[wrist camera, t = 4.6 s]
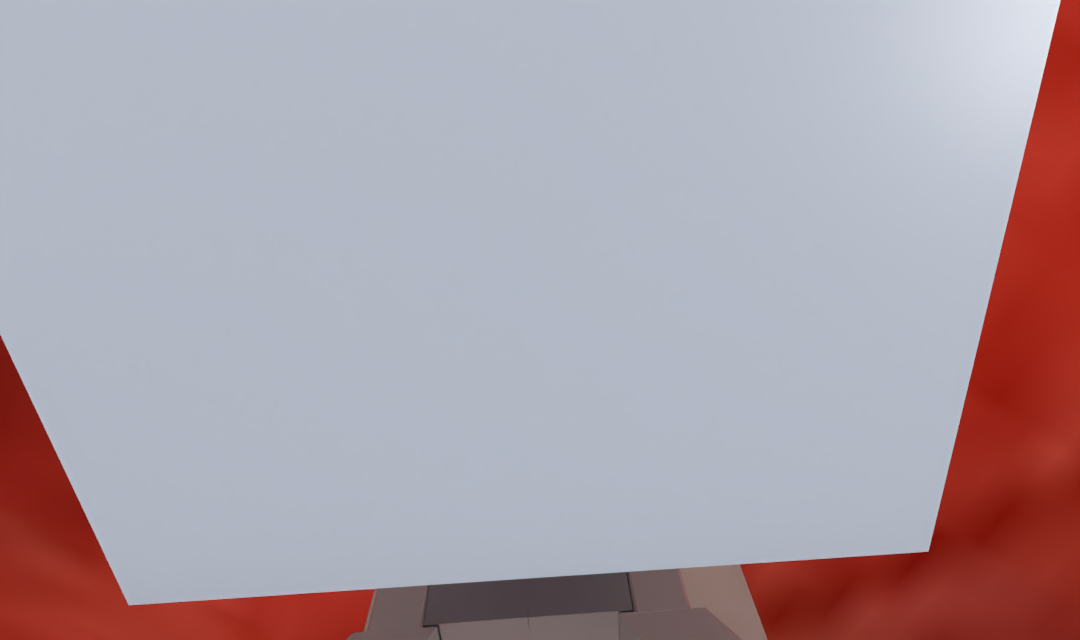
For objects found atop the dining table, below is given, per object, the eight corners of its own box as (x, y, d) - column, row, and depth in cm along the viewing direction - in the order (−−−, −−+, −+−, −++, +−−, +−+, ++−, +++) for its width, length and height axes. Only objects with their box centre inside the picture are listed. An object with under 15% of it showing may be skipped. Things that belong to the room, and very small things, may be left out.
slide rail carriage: (652, -104, 10) (1178, -498, 2) (652, 166, 12) (928, 551, 4) (356, -80, 10) (-327, -361, 2) (400, 185, 12) (130, 605, 4)
